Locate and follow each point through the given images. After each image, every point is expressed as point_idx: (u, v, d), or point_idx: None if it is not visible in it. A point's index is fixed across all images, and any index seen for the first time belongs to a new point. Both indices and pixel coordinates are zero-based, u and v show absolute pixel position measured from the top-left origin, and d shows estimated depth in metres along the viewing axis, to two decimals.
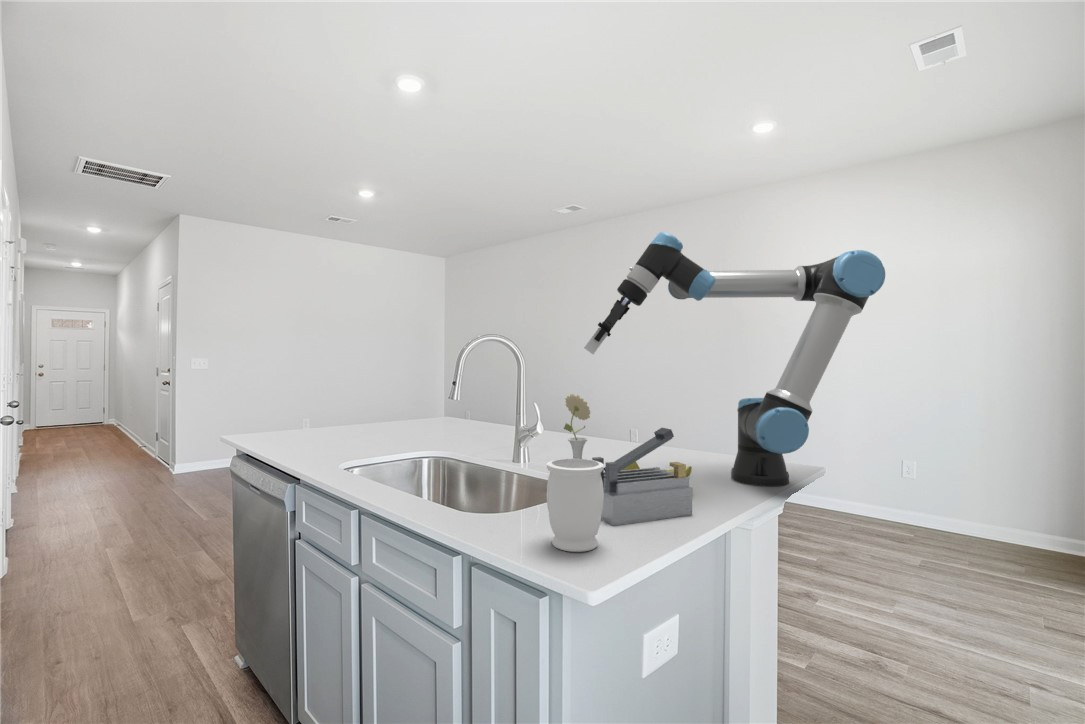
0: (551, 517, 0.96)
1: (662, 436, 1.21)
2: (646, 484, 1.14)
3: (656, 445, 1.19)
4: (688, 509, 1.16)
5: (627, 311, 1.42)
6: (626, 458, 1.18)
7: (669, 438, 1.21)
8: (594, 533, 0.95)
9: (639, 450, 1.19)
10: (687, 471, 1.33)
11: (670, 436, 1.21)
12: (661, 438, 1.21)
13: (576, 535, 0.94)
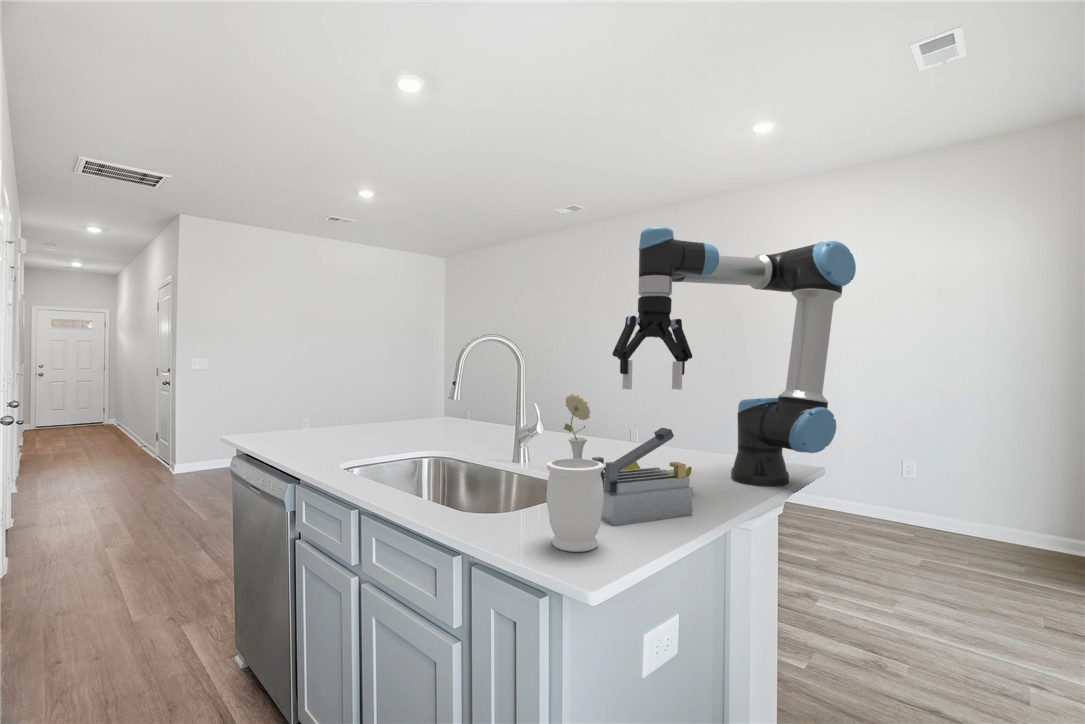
0: (551, 517, 0.96)
1: (662, 436, 1.21)
2: (646, 484, 1.14)
3: (656, 445, 1.19)
4: (688, 509, 1.16)
5: (663, 325, 1.21)
6: (626, 458, 1.18)
7: (669, 438, 1.21)
8: (594, 533, 0.95)
9: (639, 450, 1.19)
10: (687, 471, 1.33)
11: (670, 436, 1.21)
12: (661, 438, 1.21)
13: (576, 535, 0.94)
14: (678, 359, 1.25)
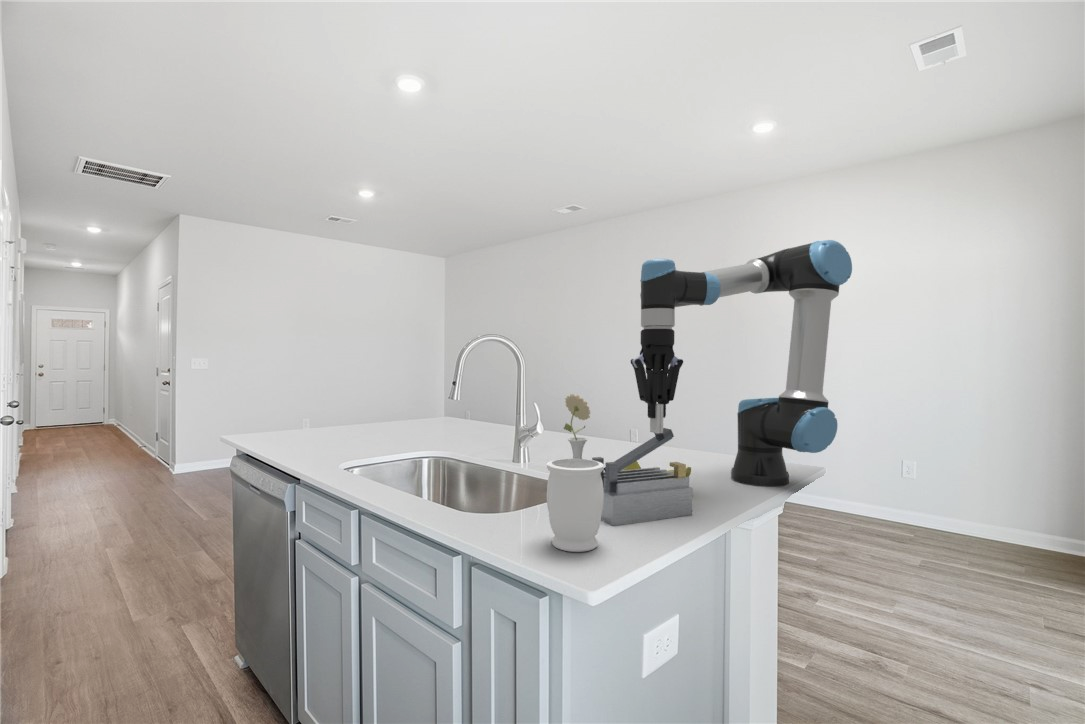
0: (551, 517, 0.96)
1: (662, 436, 1.21)
2: (646, 484, 1.14)
3: (656, 445, 1.19)
4: (688, 509, 1.16)
5: (666, 357, 1.20)
6: (626, 458, 1.18)
7: (669, 438, 1.21)
8: (594, 533, 0.95)
9: (639, 450, 1.19)
10: (686, 472, 1.33)
11: (670, 436, 1.21)
12: (661, 438, 1.21)
13: (576, 535, 0.94)
14: (659, 401, 1.22)
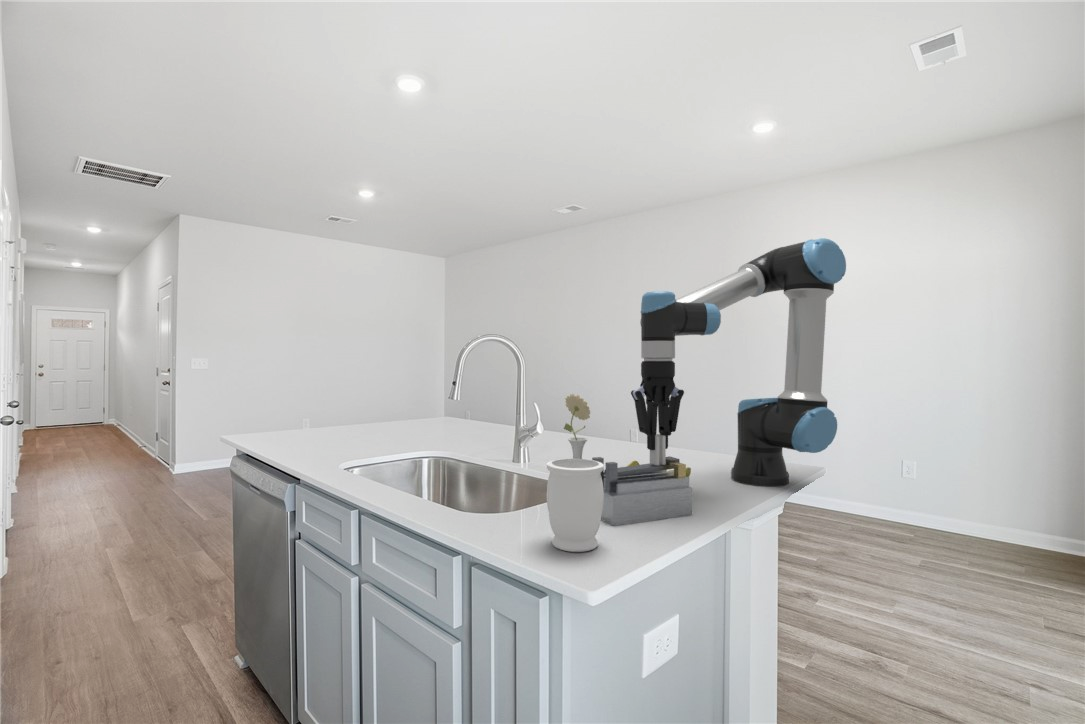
0: (551, 517, 0.96)
1: (669, 462, 1.21)
2: (646, 484, 1.14)
3: (661, 467, 1.20)
4: (688, 509, 1.16)
5: (667, 389, 1.20)
6: (629, 468, 1.19)
7: None
8: (594, 533, 0.95)
9: (643, 466, 1.20)
10: (686, 472, 1.32)
11: None
12: (667, 464, 1.21)
13: (576, 535, 0.94)
14: (661, 432, 1.22)
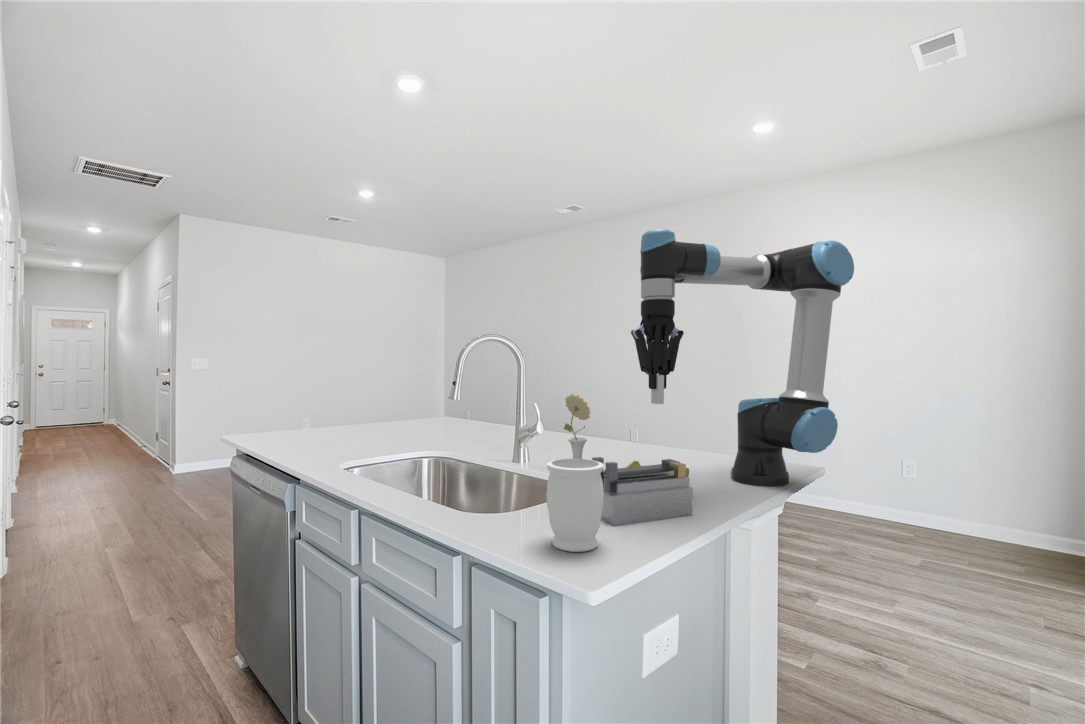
0: (551, 517, 0.96)
1: (669, 464, 1.21)
2: (646, 484, 1.14)
3: (661, 469, 1.20)
4: (688, 509, 1.16)
5: (666, 328, 1.20)
6: (629, 469, 1.19)
7: None
8: (594, 533, 0.95)
9: (643, 468, 1.20)
10: None
11: None
12: (667, 466, 1.22)
13: (576, 535, 0.94)
14: (660, 372, 1.22)
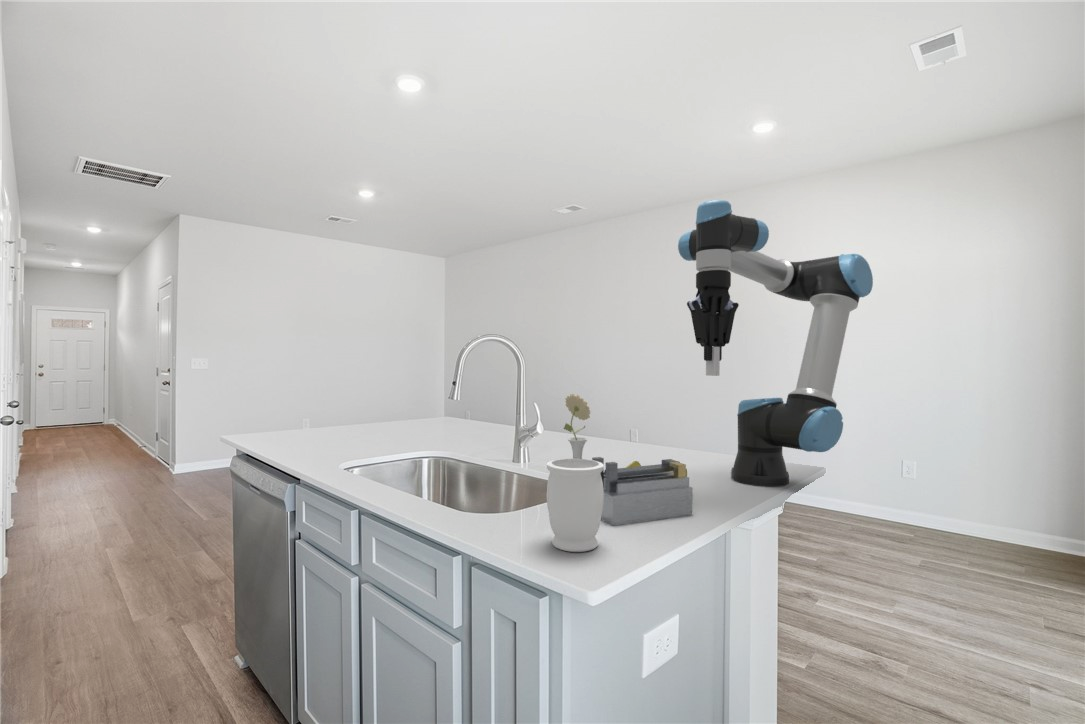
0: (551, 517, 0.96)
1: (669, 464, 1.21)
2: (646, 484, 1.14)
3: (661, 469, 1.20)
4: (688, 509, 1.16)
5: (723, 299, 1.20)
6: (629, 469, 1.19)
7: None
8: (594, 533, 0.95)
9: (643, 468, 1.20)
10: None
11: None
12: (667, 466, 1.22)
13: (576, 535, 0.94)
14: (715, 344, 1.21)
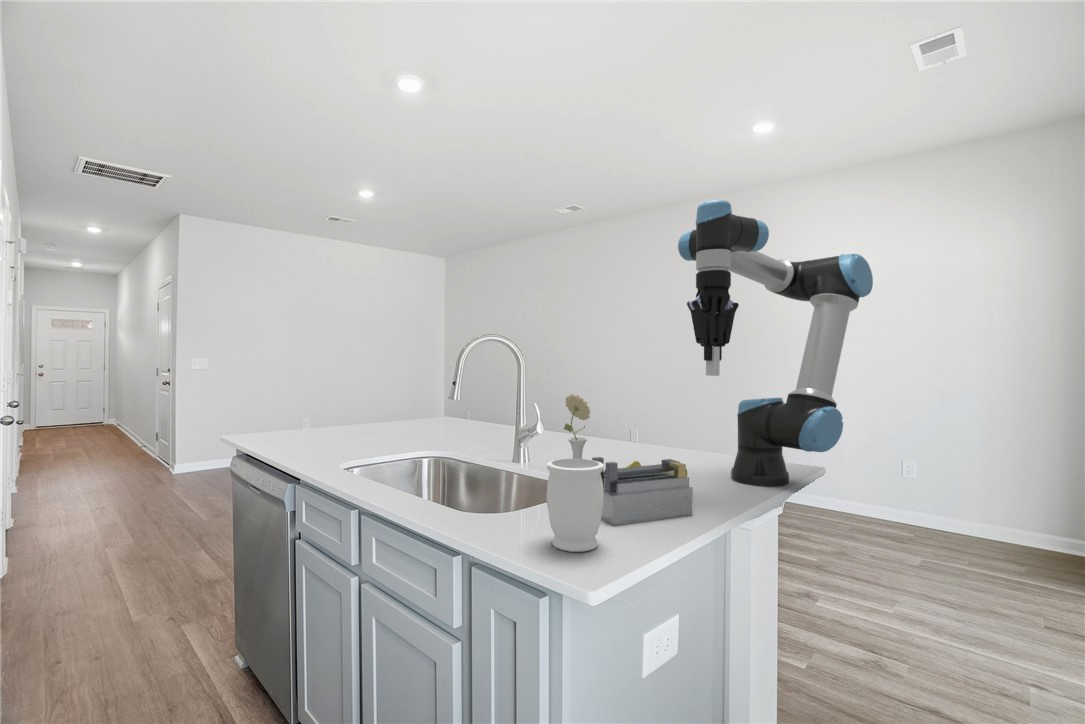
0: (551, 517, 0.96)
1: (669, 464, 1.21)
2: (646, 484, 1.14)
3: (661, 469, 1.20)
4: (688, 509, 1.16)
5: (723, 299, 1.20)
6: (629, 469, 1.19)
7: None
8: (594, 533, 0.95)
9: (643, 468, 1.20)
10: None
11: None
12: (667, 466, 1.22)
13: (576, 535, 0.94)
14: (715, 344, 1.21)
